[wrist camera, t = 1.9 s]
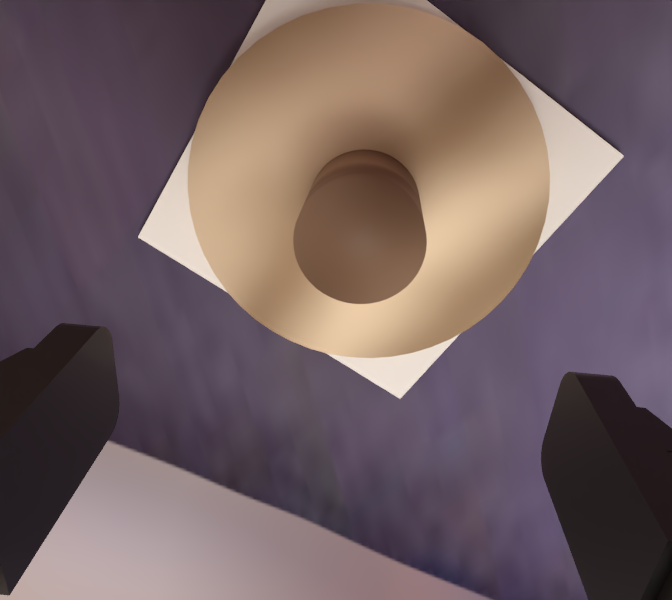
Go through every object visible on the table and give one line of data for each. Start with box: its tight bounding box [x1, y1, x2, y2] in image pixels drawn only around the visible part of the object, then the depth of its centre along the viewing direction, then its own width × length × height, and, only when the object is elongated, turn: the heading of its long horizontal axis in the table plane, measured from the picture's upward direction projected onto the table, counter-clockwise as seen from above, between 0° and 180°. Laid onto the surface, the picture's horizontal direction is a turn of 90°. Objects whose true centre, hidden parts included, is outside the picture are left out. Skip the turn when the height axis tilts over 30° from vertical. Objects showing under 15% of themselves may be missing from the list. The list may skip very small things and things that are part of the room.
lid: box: [188, 4, 550, 358], centre depth 19 cm, size 13×13×5 cm
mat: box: [138, 0, 624, 399], centre depth 22 cm, size 13×13×1 cm
